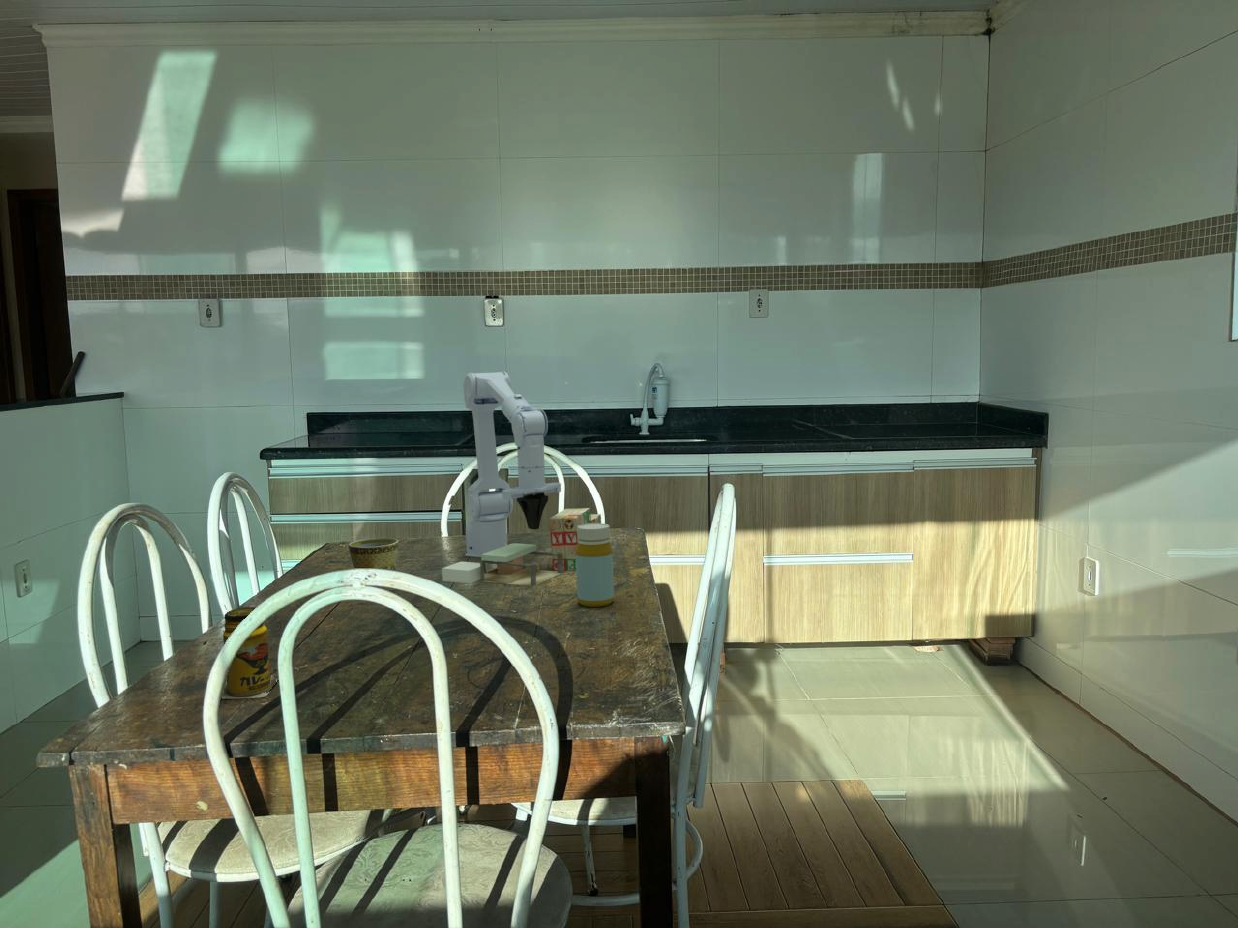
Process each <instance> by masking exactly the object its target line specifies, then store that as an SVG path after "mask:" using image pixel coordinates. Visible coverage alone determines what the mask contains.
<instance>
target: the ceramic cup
mask: <svg viewBox="0 0 1238 928" xmlns="http://www.w3.org/2000/svg"><path fill="white" fill-rule="evenodd" d="M348 549H349V555H350V559H351V562H352V564H353V568H383V569H392V570H395V571H396V567H397V566H396V565H397V564H396V563H397V560H398V559H397V558H398V550H399V540H398V539H396V538H391V537H374V538H373V537H371V538H365V539H358V540H354V541H352V542H350V543H348Z"/></svg>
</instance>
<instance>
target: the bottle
mask: <svg viewBox="0 0 1238 928" xmlns="http://www.w3.org/2000/svg"><path fill="white" fill-rule="evenodd" d="M610 528H611V527H610V524H607V523H603V522H601V523H589V524H582V525H579V526H578V527H577V536H578V545H577V549H576V570H577V571H576V595H577V602H578V603H579V604H580V605H581V606H584V607H589V608H597V607H598V608H601V607H606V606H609V605H611V604H612V602H614V599H615V590H614V589H615V587H614V586H615V585H614V555H613V547H612V545H611V542H610V541H611V540H610V539H611V538H610V537H611V534H610V533H611V531H610V530H611V529H610Z"/></svg>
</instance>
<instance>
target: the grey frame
mask: <svg viewBox="0 0 1238 928" xmlns="http://www.w3.org/2000/svg"><path fill="white" fill-rule="evenodd" d="M528 555H538V556H539V555H541V556H557V562H558V570H544V569H540V564H539V563H533V562H532V563H531V562H523V564H520V563H508V562H497V561H485V560H479V563H480V570H481V579H480V582H483V583H484V582H485V583H486V582H487V583H497V584H498V583H499V584H508V585H517V586H528V587H529V586H530V587H535V586H537V585H540V584H541V583H544V582H546V581H548V580H550V579H552V578H555V577H557V576H559V575H562V574H564V573H565V571H563V561H562V553H552V552H549V551H548V552H546V551H534V552H531V553H529V554H528ZM486 564H488V565H509V566H522V567H523V569H522V570H520V571H517V572H515V573H512V574H510V575H504V574H498V569H497V566H496V567H494V568H491V569H488V571H486Z"/></svg>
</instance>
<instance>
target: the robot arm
mask: <svg viewBox="0 0 1238 928" xmlns="http://www.w3.org/2000/svg"><path fill="white" fill-rule="evenodd" d="M511 387H512V383H511V378H510V376H509V375H508V373H507V372H506V371H500V372H499V371H498V372H497V371H496V372H474V373H473V372H468V373H467V374H466V376H465V377H464V381H463V395H464V403H465V408H467V409H469V410H470V411H471V413H472V420H473V433H474V442H475V445H474V446H475V455H476V465H477V475H478V478H477V479H476V480H475V481H474V482H473V483H472V484H471V485H470V486H469V487H468V489H467V510H468V514H469V516H470V517H471V518H470V519H469V520H468V521H467V523H466V526H465V540H466V541H465V542H466V553H465V554H464V556H465V557H475V558H481V555H482V554H484V553H487V552H490V551H493V550H495V549H498V548H501V547H504V546H507V545H508V535H507V534H508V531H507V528H508V527H507V518H509V515H511V514H512V511H513V508H514V499H516V502H517V503H518V505H519V506H520V508H521V510H522V512H523V515H524V517H525V520H526V524H527V529H529V530H538V529H540V524H541V520H542V516H543V512H544V509H545V507H546V505H547V503H548V501H549V495H546V494H551V493H562V483H561V482H550V483H548V482H547V483H546V473H545V472H546V471H545V470H546V469H545V444H544V443H545V442H544V441H545V440H544V437H545V436H546V435H547V434H548V429H549V423H548V421H549V420H548V416H547V415H546V414H547V413H546V412H545V411H544V410H543V409H534V408H533V406H532V405H530V403H529V402H528V401H527V400H526V399H525V398H524V397H523V395H522V394H521V393H517V394H515V392H514V391H513V390H512V388H511ZM500 407H501V412H502V414H503V415H504V416H505V417H506V418H507V421H509V423H510V424H511V431H512V434H513V439H514V440H513V441H514V445H515V446H516V447H517V472H518V474H517V475H518V479H517V480H518V486H515V487H510V484H509V483H508V482H507V481H505V480H504V479H502V478H501V477H500V474H499V461H498V455H497V454H498V453H497V451H498V450H497V442H496V432H495V431H496V430H495V421H494V419H495V418H494V412H495V410H496V409H497V408H500ZM488 490H489V491H488Z"/></svg>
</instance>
